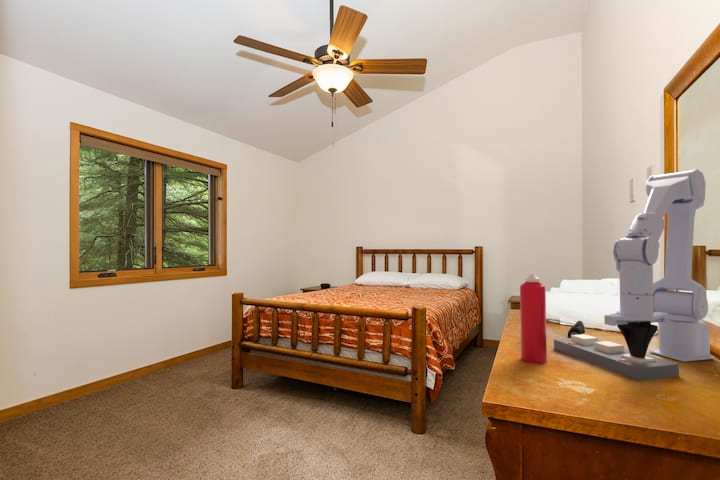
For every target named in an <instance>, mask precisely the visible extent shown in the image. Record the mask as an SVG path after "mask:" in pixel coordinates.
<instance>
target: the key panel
mask: <svg viewBox="0 0 720 480" xmlns="http://www.w3.org/2000/svg"><path fill="white" fill-rule="evenodd" d="M598 342H602V340H598ZM553 350H554V351H555V350H556V351H558V352H561V353H564V354H566V355H568V354H569V356H571V355H572V356H571V357H574V358H576V357H577V359H579V358H580V360H582V361H585V362H588V363H590V364H593V365H596V366H597V367H601V368H603V367H604V369H606V370H609V371H611V370H612V372H614V373H617V374H620V375H623V376H625V377H628V378H630V379H633V380H636V381H638V382H640V381H641V382H642V380H643V381H650V380H652V381H653V380H659V379H661V380H662V379H669V378H670V379H671V378H678V377H680V364H679V363H677V362H672V361H669V360H667V359H663V358H659V357H656V356H653V355H649V354H646V355H645V356H647V357H651V358H654V359H655V362H651V363H641V364H639V363H636V362H633V361H630V360H627V359H623V358H621V355H623V354H630V352H629V349H628V348H626V347H624V353H613V354H608V353H605V352H602V351H599V350H596V349H594V345H585V346H584V345H580V344H577V343H574V342H571V338H569V337H567V338H556V339H553Z"/></svg>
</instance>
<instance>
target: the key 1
mask: <svg viewBox="0 0 720 480" xmlns="http://www.w3.org/2000/svg"><path fill="white" fill-rule="evenodd" d="M598 341H599V340H598V337H595V336H592V335H588V334H585V333H582V334H580V335H571V342H574V343H577V344H580V345H584V346H585V345H594V342H598Z"/></svg>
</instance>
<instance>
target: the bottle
mask: <svg viewBox="0 0 720 480" xmlns="http://www.w3.org/2000/svg"><path fill="white" fill-rule="evenodd" d="M546 294H547V293H546V286H545V285H544V284H543V283H541V282H540V278H539V277H537V274H528V276H527V277H525V282H524V283H522V284H520V287H519V305H520V306H519V309H520V312H519V315H520V320H519V321H520V359H521V360H522V361H523V362H525V363H529V364H540V365H543V364H546V363H547V361H548V360H547V359H548V358H547V357H548V356H547V355H548V353H547V349H548V347H547V302H546V299H547V298H546Z"/></svg>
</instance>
